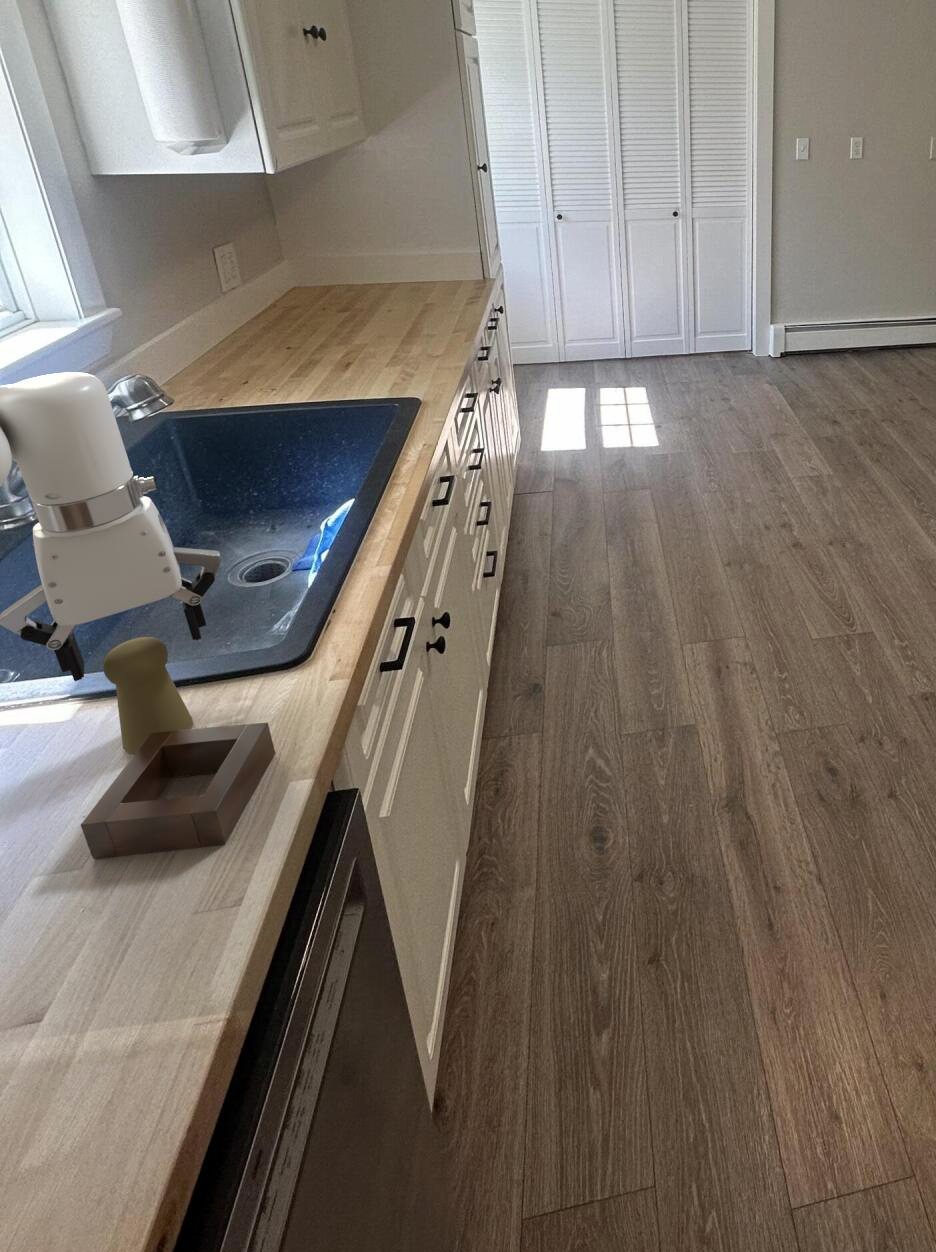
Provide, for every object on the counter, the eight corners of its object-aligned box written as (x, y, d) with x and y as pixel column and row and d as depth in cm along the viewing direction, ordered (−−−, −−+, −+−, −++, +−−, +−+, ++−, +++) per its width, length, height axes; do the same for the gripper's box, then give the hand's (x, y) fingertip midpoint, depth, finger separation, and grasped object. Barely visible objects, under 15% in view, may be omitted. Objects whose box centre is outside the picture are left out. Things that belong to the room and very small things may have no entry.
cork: (159, 758, 80) (131, 669, 76) (107, 751, 81) (77, 662, 77) (206, 716, 86) (182, 631, 82) (157, 709, 86) (132, 625, 83)
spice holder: (92, 859, 69) (80, 825, 68) (161, 764, 79) (151, 732, 78) (225, 844, 71) (215, 810, 69) (275, 753, 81) (268, 721, 79)
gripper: (195, 464, 82) (234, 603, 88) (-31, 517, 72) (30, 669, 78) (202, 491, 76) (243, 636, 82) (-41, 551, 66) (26, 712, 72)
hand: (140, 652), depth 80 cm, fingers open, 9 cm apart
